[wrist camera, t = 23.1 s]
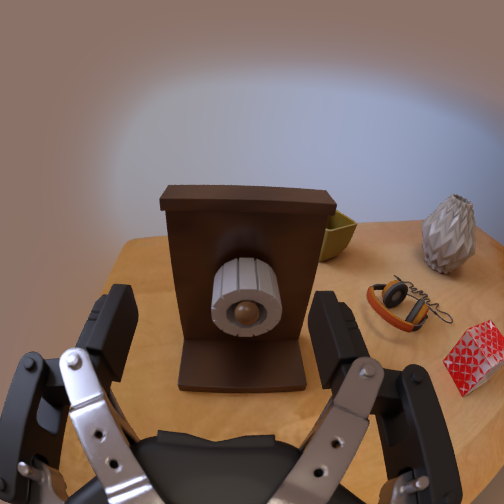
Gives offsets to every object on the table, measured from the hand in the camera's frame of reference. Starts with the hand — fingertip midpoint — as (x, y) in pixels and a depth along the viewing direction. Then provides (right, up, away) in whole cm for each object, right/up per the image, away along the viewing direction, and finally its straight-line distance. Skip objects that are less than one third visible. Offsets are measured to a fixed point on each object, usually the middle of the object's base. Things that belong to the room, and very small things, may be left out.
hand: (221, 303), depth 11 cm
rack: (0, -13, +24) cm, 27 cm away
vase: (+49, -1, +46) cm, 67 cm away
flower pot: (+17, +2, +47) cm, 50 cm away
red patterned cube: (+37, -18, +20) cm, 46 cm away
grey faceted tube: (+1, -2, +16) cm, 16 cm away
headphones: (+29, -9, +32) cm, 45 cm away
